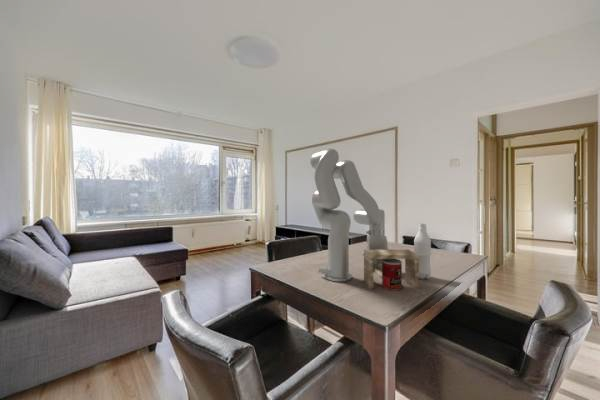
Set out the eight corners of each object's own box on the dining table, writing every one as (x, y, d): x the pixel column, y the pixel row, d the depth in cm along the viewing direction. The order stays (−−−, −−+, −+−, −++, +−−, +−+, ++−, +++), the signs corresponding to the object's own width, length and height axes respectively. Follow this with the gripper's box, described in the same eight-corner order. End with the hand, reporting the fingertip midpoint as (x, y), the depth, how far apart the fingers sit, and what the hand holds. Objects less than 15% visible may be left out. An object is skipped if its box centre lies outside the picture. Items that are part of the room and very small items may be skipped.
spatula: (384, 282, 108) (384, 267, 108) (371, 269, 128) (371, 255, 128) (393, 282, 108) (393, 267, 108) (379, 268, 128) (379, 255, 128)
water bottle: (433, 280, 111) (433, 225, 110) (416, 279, 112) (416, 224, 111) (428, 275, 118) (428, 223, 117) (412, 274, 119) (412, 222, 118)
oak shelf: (369, 288, 102) (369, 255, 101) (364, 280, 112) (363, 249, 111) (418, 288, 101) (418, 255, 101) (408, 280, 111) (408, 249, 111)
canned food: (392, 291, 99) (392, 264, 99) (378, 284, 106) (378, 259, 106) (405, 287, 102) (406, 261, 102) (390, 281, 109) (391, 257, 109)
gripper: (362, 234, 122) (362, 271, 122) (396, 234, 122) (396, 271, 122) (358, 232, 129) (358, 266, 130) (390, 232, 129) (390, 266, 130)
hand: (376, 268), depth 126 cm, fingers closed on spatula, 4 cm apart
